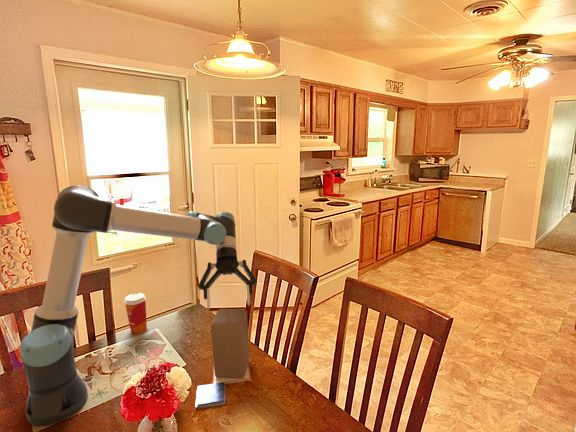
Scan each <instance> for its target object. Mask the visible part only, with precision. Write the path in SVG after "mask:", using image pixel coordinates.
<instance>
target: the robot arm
mask: <svg viewBox="0 0 576 432" xmlns="http://www.w3.org/2000/svg"><path fill="white" fill-rule="evenodd" d="M53 212H54V214H53V219H52V224H51V227H52V228H53V229H54V231H55V232H56V234H55V239H54V244H53V248H52V249H53V250H52V254H51V259H50V265H49V269H48V274H47V280H46V284H45V288H44V289H45V290H44V295H43V300H42V304H41V305H40V306H37V308H35V310H34V315H33V319H32V325H31V328H30V333H27V334H26V335H25V336H24V337H23V338H22V340H21V342H20V345H19V346H20V347H19V349H20V350H19V355H20V359H21V360H22V366H23V370H24V373H25V379H26V384H27V388H28V396H27V401H26V404H25V405H26V406H25V417H26V420H27V423H29V424H30V423H31V424H30V425H32V424H33V425H32V426H35V425H36V426H37V427H41V426H49V425H53V424H57V423H59V422H61V421H64V420H66V419H68V418H70V417H71V416H72V415H74V414H75V413H77V412H78V411H79V410H80V409H81V408H82V407H83V406H84V405H85V403H86V402H87V400H88V397H89V393H88V387H87V385H86V384H85V383H84V381H83V379H82V378H81V376H80V375H79V374H78V371H77V365H76V361H75V353H74V342H75V331H76V326H77V322H78V321H77V320H78V317H79V309H78V307H77V306H76V300H77V295H78V290H79V284H80V281H81V277H82V269H83V266H84V261H85V255H86V251H87V246H88V241H89V236H91V235H93V234H94V233H95V232H97V233H106V234H108V233H109V232H111V231H118V232H126V233H134V234H135V233H136V234H142V235H144V234H145V235H151V236H159V237H167V238H176V239H183V240H184V239H185V240H186V239H187V240H193V241H199V242H206V243H207V244H210V245H213V246H215V250H216V254H215V255H216V259H215V260H216V262H215V263H212V262H210V261H209V262H207V268H206V270H205V272H204V273H203V276H202V278H201V279H200V281H199V283H198V286H197V287H198V290H201V291H203V299H204V300H206V304H207V305H206V306H207V307H206V308H207V310H211V290H210V288H211V287H212V285H213V284H214V283H215V282H216V280H218V278H219V277H221V276H226V275H233V274H234V275H235V276H237V277H238V278H239V279H240V280H241V281H242V282H243V283H244V284H245V285H246V299H247V301H246V302H247V307H248V306H250V305H251V296H253V294H254V293H253V287H254V286H257V278H256V276H254V274H253V272H252V271H251V269H250V268H249V266H248V263H247V260H246V259H242V261H239V260H238V252H237V251H238V250H237V237H236V220H235V216H234V215H233V214H232V213H231V212H228V211H225V212H221V211H220V212H219V213H217V214H216V215H210V214H206V213H201V212H198V211H188V212H187V213H186V215H183V214H178V213H177V214H176V213H172V212H171V213H170V212H164V211H159V210H153V209H146V208H141V207H133V206H128V205H122V204H121V205H120V204H117V203H116V202H115V201H114V200H111V199H106V198H102V197H100V196H99V195H98V193H97V192H96V191H95V190H94V189H92V188H90V187H87V186H86V185H85V186H84V185H79V184H78V185H71V186H70V185H69V186H67V187H66V188H63V189H62V190H61V191H59V194H58V195H57V198H56V200H55V202H54V205H53ZM239 266H240V267H241V268H243V270H244V272H245V273H246V275H247V276H246V275H244V274H243V273H242V272H241V271H240V269H239V268H238V267H239ZM214 268H216V270H215V272H214V274H213V275H212V276H211V277H210V278H209V276H210V274H211V272H212V270H214ZM207 280H208V281H207Z"/></svg>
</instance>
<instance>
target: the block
mask: <svg viewBox="0 0 576 432" xmlns="http://www.w3.org/2000/svg"><path fill="white" fill-rule="evenodd" d="M248 327H249V326H248V312H247V310H246V309H244V308H243V309H241V308H220V309H217V312H216V314H215V316H214V317H213V319H212V321H211V323H210V331H211V332H210V333H211V345H212V346H211V347H212V356H213V357H212V358H213V373H214V372H215V376H216V377H224V378H243V377H244V375H245V372H246V369H247V365H248V362H249V363H250V345H249V328H248Z"/></svg>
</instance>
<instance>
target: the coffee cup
mask: <svg viewBox="0 0 576 432" xmlns="http://www.w3.org/2000/svg"><path fill="white" fill-rule="evenodd" d="M146 300H147V297H146V296H145V294H144V293H143V292H138V293H137V292H136V293H131V294H128V295H127V296H125V297H124V301H123V303H124V306H125V309H126V313H127V319H128V323H129V329H130V332H131V334H133V335H140V334H143V333H144V332H146V331H147V327H148V326H147V325H148V324H147V306H146Z"/></svg>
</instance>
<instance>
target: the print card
mask: <svg viewBox="0 0 576 432" xmlns="http://www.w3.org/2000/svg"><path fill="white" fill-rule="evenodd" d="M251 375H252V374H251V368H250V361H249V362H248V365H247V369H246V372H245V375H244V377H243V378H224V377H216V376H215V372H214V371H213V379H212V380H213V381H212V384H214V383H221V382H225V385H226V384H233V383H239V382H240V383H241V382H245V381H252V376H251Z"/></svg>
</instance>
